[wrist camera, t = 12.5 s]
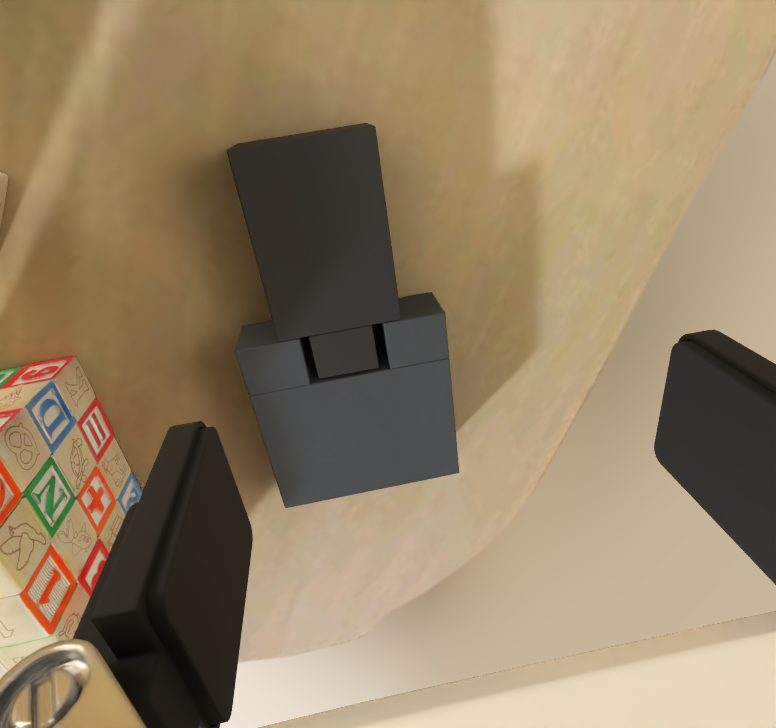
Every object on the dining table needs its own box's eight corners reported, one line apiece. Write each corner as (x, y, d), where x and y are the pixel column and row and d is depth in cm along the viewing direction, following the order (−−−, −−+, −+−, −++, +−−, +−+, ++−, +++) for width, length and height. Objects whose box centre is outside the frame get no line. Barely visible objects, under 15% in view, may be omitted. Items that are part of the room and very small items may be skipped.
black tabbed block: (235, 143, 26) (225, 149, 23) (367, 122, 26) (374, 125, 23) (291, 357, 32) (290, 384, 29) (398, 337, 33) (407, 362, 29)
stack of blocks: (193, 584, 40) (151, 762, 29) (115, 601, 40) (43, 787, 29) (75, 352, 30) (-57, 493, 19) (-32, 372, 30) (-227, 528, 19)
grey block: (241, 326, 31) (234, 351, 28) (431, 291, 31) (445, 312, 28) (287, 474, 36) (285, 508, 33) (447, 442, 37) (459, 473, 34)
